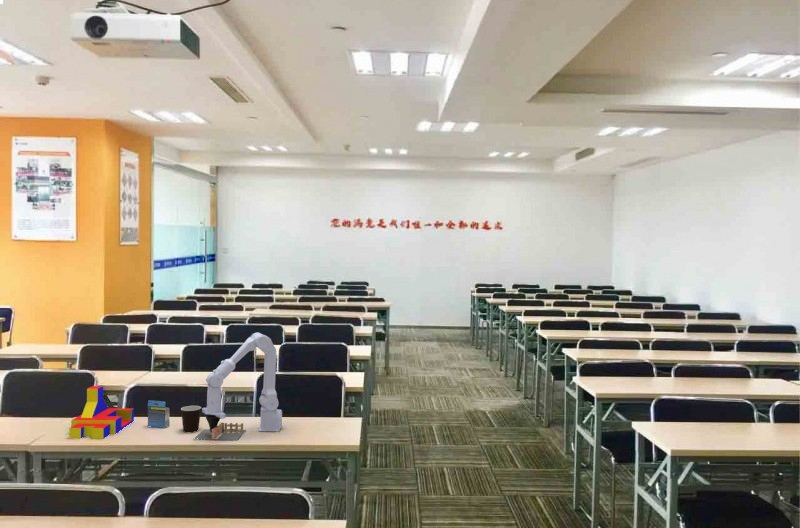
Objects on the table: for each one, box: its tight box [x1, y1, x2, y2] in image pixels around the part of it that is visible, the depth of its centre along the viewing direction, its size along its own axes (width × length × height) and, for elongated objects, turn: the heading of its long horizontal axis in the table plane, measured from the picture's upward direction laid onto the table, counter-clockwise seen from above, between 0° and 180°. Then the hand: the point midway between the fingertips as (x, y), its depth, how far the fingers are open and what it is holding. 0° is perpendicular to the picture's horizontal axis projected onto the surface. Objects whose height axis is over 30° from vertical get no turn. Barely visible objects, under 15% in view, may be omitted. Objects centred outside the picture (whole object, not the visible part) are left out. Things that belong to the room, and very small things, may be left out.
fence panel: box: [212, 423, 222, 439], centre depth 250 cm, size 8×1×4 cm, turn 173°
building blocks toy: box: [68, 385, 135, 440], centre depth 257 cm, size 19×25×18 cm
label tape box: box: [147, 400, 171, 428], centre depth 263 cm, size 9×4×12 cm, turn 82°
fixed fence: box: [219, 422, 244, 433], centre depth 255 cm, size 10×2×4 cm, turn 90°
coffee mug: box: [180, 405, 202, 433], centre depth 260 cm, size 12×9×10 cm
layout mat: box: [194, 428, 247, 441], centre depth 252 cm, size 19×14×1 cm
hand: (213, 432), depth 249 cm, fingers closed, pressing on fence panel
